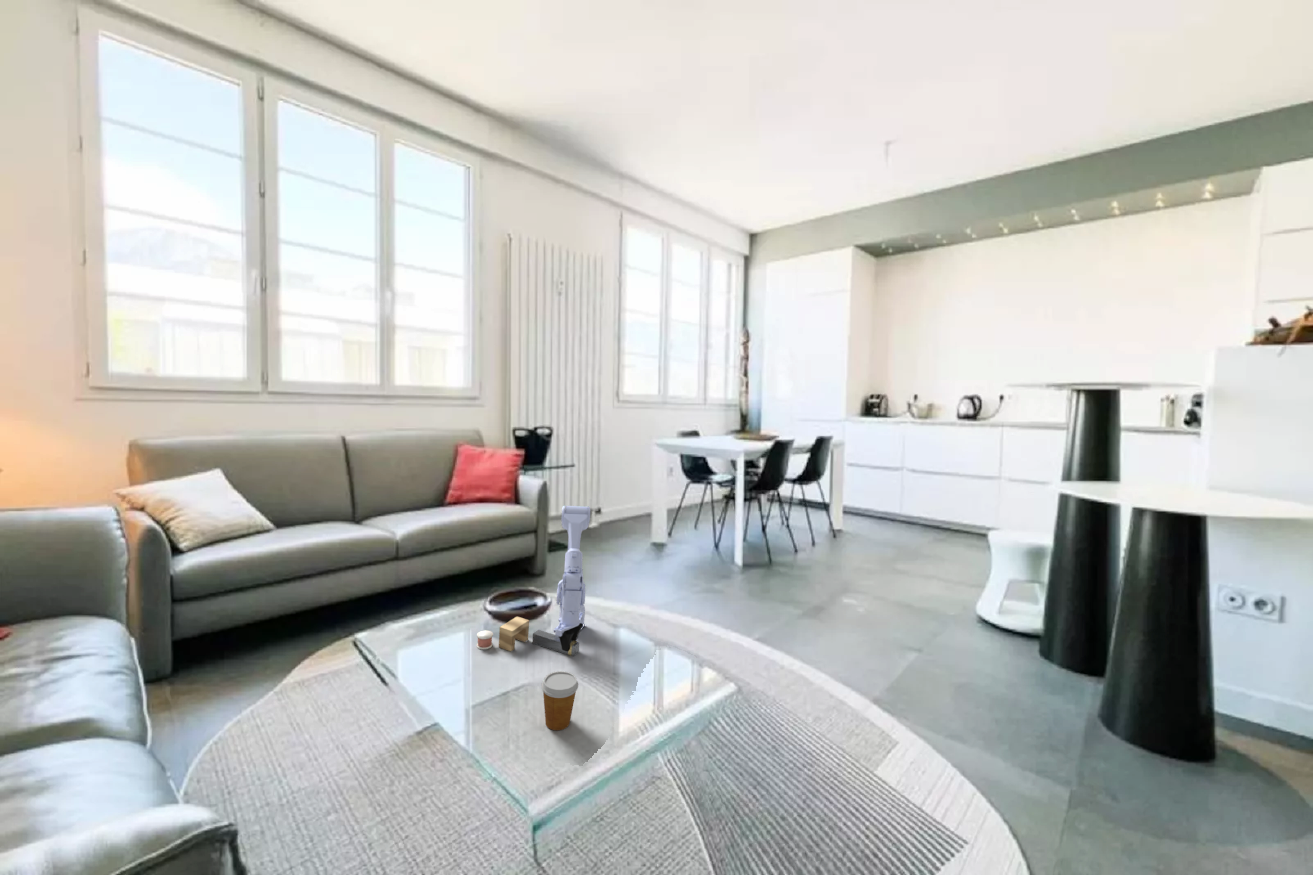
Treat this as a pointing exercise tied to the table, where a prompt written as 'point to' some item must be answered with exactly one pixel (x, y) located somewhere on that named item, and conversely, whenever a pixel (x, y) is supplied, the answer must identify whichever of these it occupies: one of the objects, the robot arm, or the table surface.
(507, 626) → the wooden u-shaped cradle
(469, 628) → the table surface
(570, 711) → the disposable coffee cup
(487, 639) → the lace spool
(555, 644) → the dark grey bar
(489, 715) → the table surface
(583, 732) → the table surface
